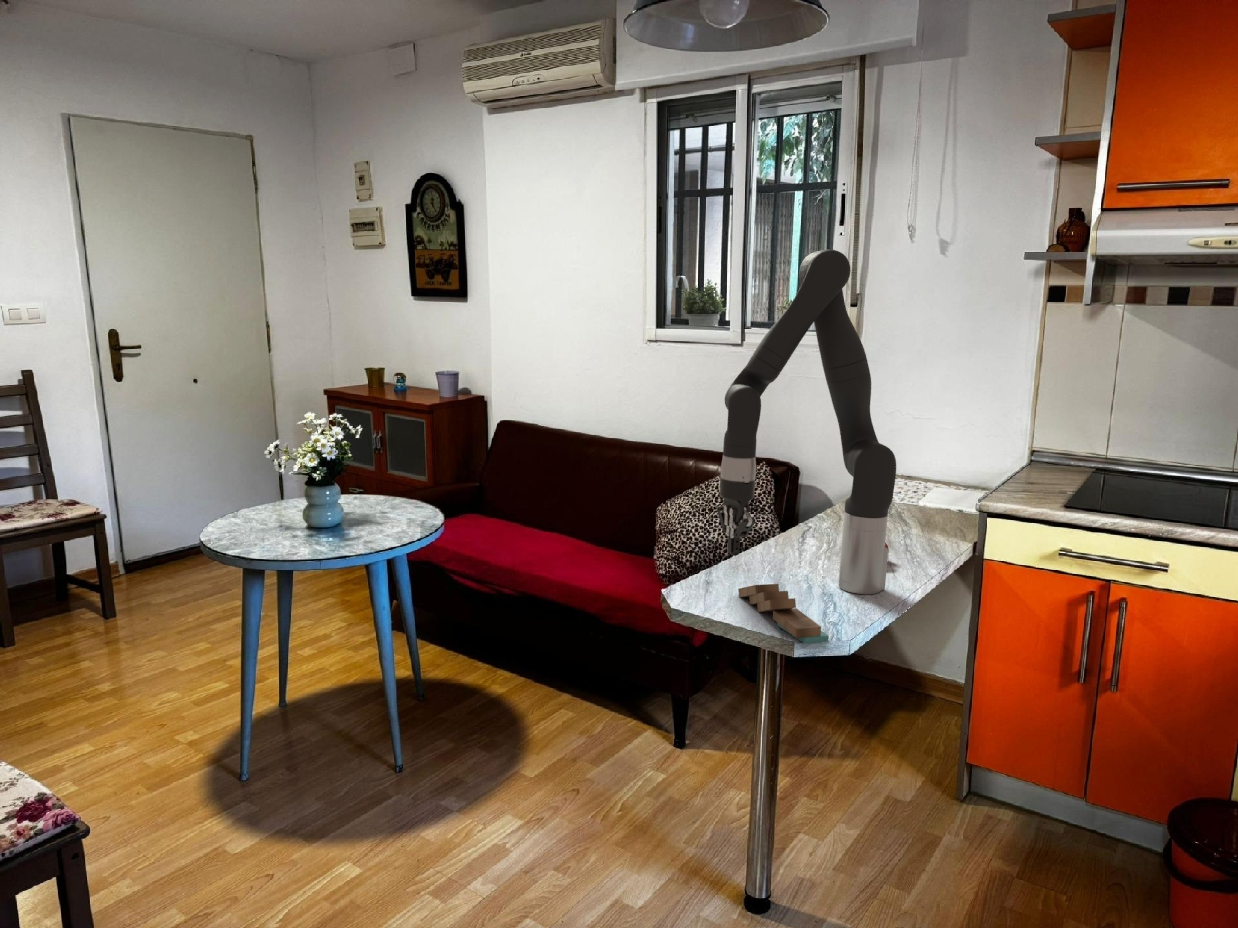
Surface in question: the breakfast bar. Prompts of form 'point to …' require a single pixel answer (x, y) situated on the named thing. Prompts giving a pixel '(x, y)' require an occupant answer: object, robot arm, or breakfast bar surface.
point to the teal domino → (811, 639)
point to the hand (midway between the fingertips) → (733, 553)
